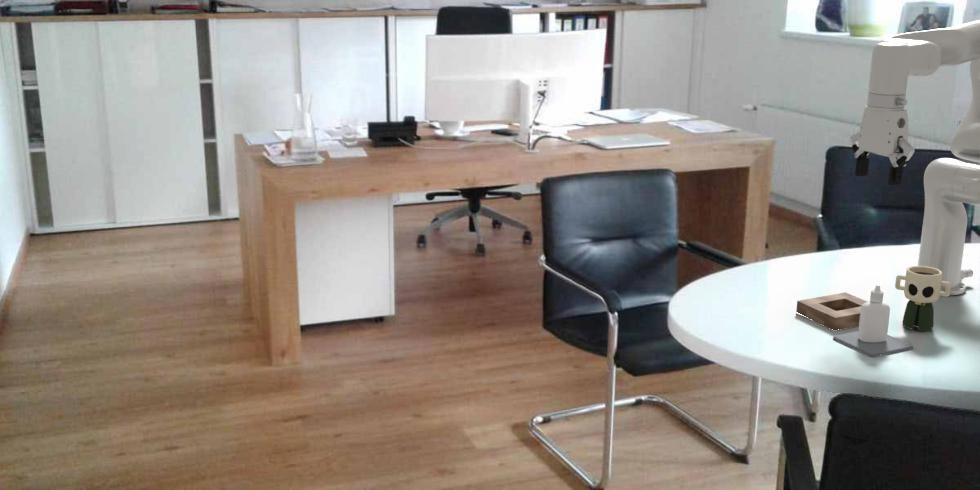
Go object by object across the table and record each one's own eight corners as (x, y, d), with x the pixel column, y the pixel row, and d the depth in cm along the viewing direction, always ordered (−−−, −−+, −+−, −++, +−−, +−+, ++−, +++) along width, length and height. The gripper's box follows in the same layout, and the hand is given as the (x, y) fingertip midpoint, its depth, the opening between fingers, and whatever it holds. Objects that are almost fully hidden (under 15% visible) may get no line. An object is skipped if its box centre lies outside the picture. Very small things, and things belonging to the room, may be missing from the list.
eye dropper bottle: (858, 334, 213) (864, 280, 210) (887, 338, 211) (893, 284, 208) (856, 341, 209) (862, 286, 206) (885, 345, 207) (892, 290, 204)
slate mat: (872, 331, 217) (873, 328, 217) (912, 348, 207) (913, 345, 207) (833, 338, 212) (833, 336, 212) (872, 357, 203) (872, 354, 203)
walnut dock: (844, 304, 233) (845, 292, 232) (883, 321, 222) (884, 308, 222) (796, 313, 227) (797, 300, 227) (834, 330, 217) (835, 317, 216)
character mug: (887, 328, 218) (894, 271, 215) (893, 318, 224) (900, 262, 221) (942, 337, 213) (950, 279, 209) (946, 327, 219) (954, 270, 215)
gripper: (931, 105, 210) (921, 186, 214) (869, 95, 225) (861, 171, 230) (904, 108, 207) (894, 189, 211) (843, 97, 222) (835, 173, 227)
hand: (877, 179), depth 220 cm, fingers open, 9 cm apart
